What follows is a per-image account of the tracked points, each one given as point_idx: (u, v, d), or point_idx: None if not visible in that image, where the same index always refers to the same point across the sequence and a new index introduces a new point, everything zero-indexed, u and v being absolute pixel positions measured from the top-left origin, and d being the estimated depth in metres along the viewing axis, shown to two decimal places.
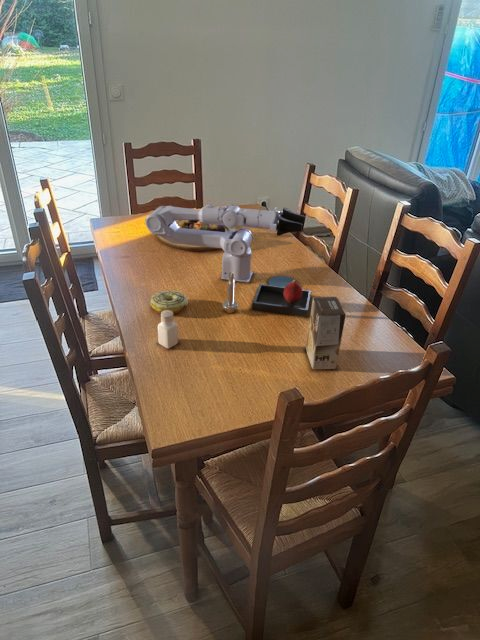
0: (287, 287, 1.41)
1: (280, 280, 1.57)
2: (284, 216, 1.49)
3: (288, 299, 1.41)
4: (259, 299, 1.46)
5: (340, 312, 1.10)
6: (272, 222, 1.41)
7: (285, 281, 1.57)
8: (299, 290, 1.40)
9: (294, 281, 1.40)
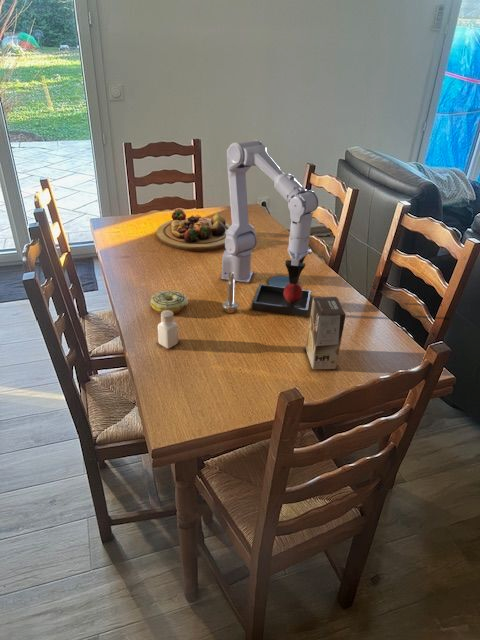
0: (287, 287, 1.41)
1: (280, 280, 1.57)
2: None
3: (288, 299, 1.41)
4: (259, 299, 1.46)
5: (340, 312, 1.10)
6: (300, 259, 1.30)
7: (285, 281, 1.57)
8: (299, 290, 1.40)
9: None
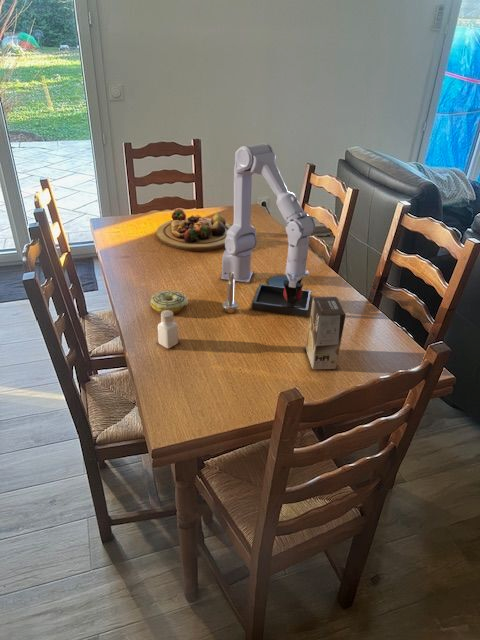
0: None
1: (280, 280, 1.57)
2: None
3: None
4: (259, 299, 1.46)
5: (340, 312, 1.10)
6: (297, 280, 1.34)
7: None
8: None
9: None
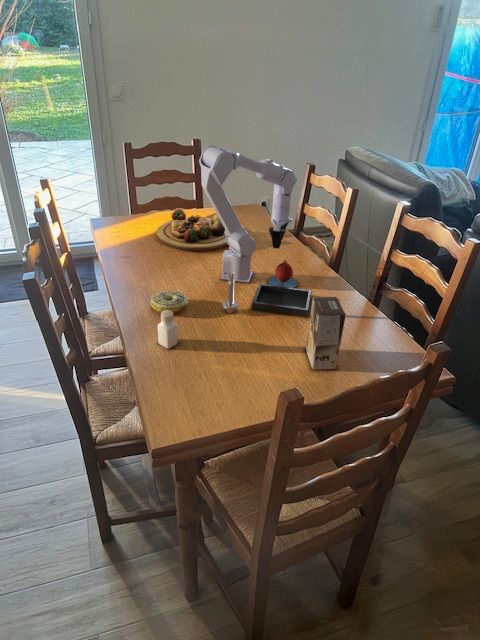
0: (278, 267, 1.52)
1: None
2: None
3: (279, 278, 1.53)
4: (259, 299, 1.46)
5: (340, 312, 1.10)
6: (281, 225, 1.51)
7: None
8: (289, 269, 1.52)
9: (285, 261, 1.52)
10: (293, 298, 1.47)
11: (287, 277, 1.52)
